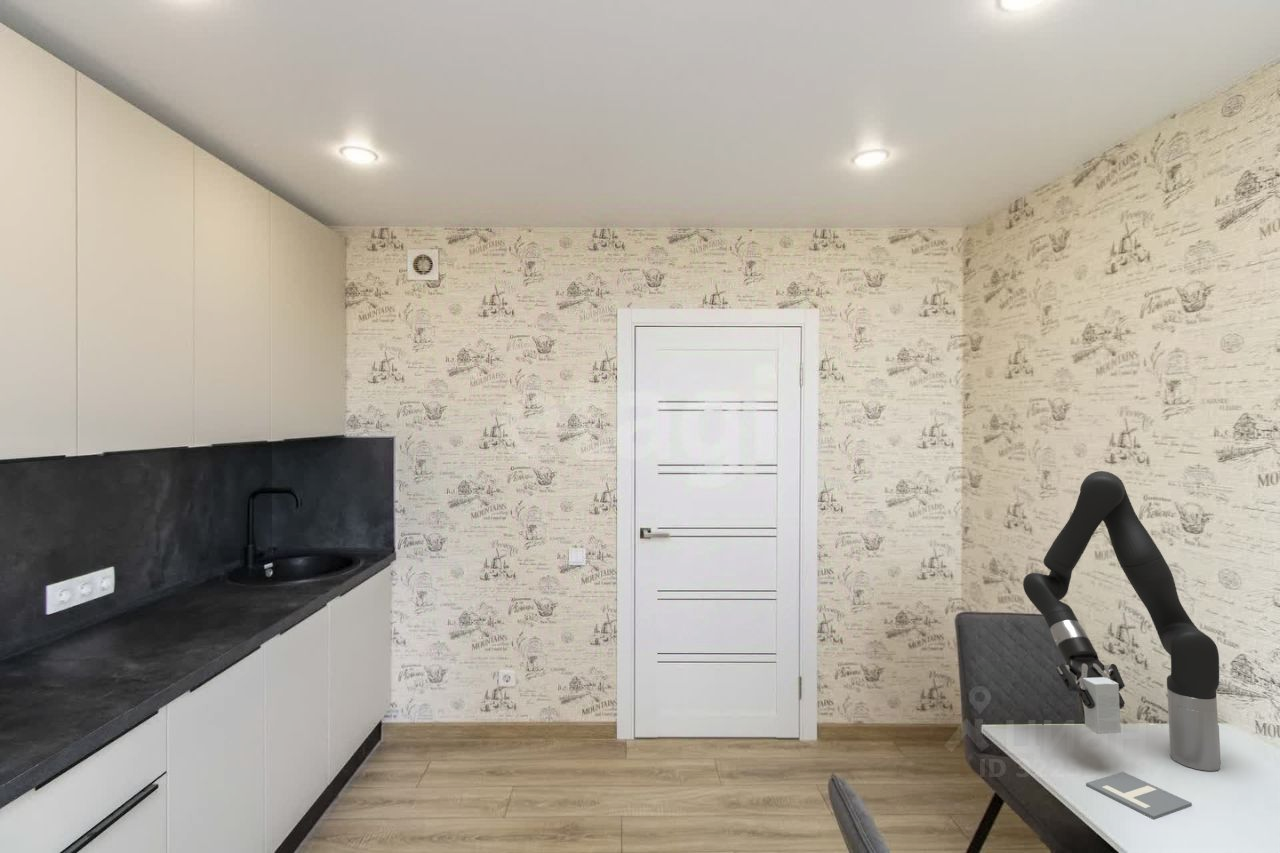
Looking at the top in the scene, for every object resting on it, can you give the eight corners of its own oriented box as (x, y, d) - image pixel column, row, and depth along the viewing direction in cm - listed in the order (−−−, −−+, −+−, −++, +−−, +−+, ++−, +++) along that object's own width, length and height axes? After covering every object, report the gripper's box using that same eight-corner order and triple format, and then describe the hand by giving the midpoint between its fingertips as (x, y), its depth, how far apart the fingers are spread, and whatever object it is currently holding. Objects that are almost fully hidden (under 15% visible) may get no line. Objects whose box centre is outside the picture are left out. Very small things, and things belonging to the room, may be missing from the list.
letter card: (1123, 774, 148) (1122, 771, 148) (1191, 805, 135) (1191, 802, 135) (1086, 785, 144) (1085, 782, 144) (1153, 819, 130) (1153, 816, 131)
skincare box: (1107, 725, 152) (1105, 676, 153) (1121, 733, 148) (1119, 683, 148) (1083, 725, 152) (1081, 677, 152) (1096, 734, 148) (1095, 684, 148)
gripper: (1050, 635, 158) (1082, 701, 146) (1108, 635, 158) (1145, 701, 146) (1038, 649, 164) (1069, 713, 152) (1094, 649, 163) (1129, 713, 151)
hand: (1106, 707), depth 149 cm, fingers closed on skincare box, 6 cm apart
